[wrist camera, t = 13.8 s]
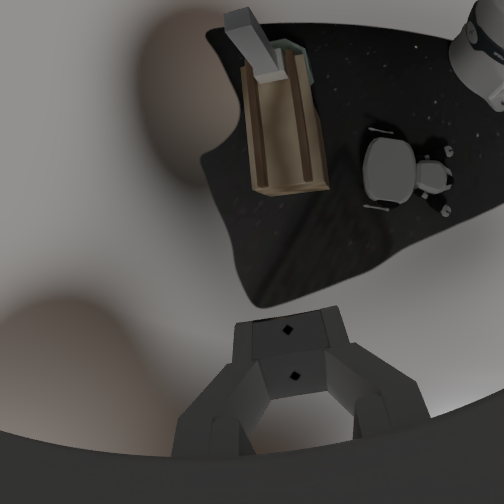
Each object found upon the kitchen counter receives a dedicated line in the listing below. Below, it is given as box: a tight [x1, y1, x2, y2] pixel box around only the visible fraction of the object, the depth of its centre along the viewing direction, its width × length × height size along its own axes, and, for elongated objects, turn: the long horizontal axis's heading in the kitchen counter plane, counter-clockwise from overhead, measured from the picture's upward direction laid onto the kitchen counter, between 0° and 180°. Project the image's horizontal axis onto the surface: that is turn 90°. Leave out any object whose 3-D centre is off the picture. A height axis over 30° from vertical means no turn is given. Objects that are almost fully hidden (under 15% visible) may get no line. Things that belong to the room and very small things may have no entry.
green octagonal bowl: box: [270, 39, 314, 86], centre depth 49 cm, size 10×10×5 cm
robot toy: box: [362, 128, 454, 217], centre depth 44 cm, size 12×4×15 cm
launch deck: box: [240, 49, 330, 196], centre depth 47 cm, size 10×20×11 cm, turn 6°
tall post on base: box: [224, 7, 288, 84], centre depth 36 cm, size 4×4×15 cm
